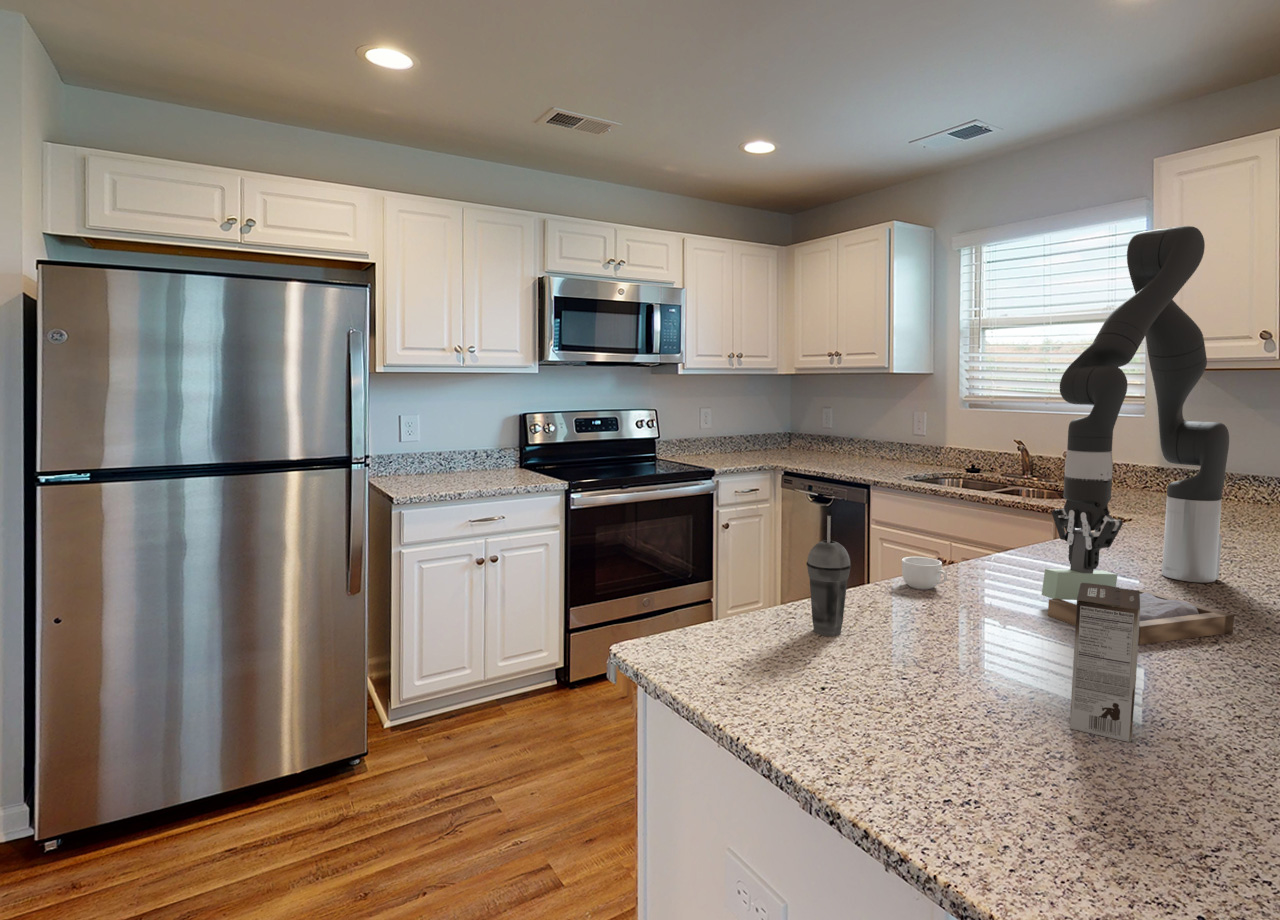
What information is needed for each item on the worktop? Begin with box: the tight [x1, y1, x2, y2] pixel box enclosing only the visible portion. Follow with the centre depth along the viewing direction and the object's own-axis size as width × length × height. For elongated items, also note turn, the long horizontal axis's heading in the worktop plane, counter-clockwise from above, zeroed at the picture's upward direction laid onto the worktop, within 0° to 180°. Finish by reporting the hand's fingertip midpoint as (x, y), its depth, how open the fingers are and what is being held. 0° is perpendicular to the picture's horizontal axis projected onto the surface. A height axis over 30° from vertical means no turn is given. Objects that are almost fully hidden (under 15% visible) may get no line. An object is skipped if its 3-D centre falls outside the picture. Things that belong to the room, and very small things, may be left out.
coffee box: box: [1069, 583, 1140, 743], centre depth 89 cm, size 9×6×16 cm
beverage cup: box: [806, 515, 852, 637], centre depth 122 cm, size 7×7×20 cm
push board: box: [1041, 533, 1118, 601], centre depth 136 cm, size 14×3×12 cm, turn 106°
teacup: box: [901, 556, 948, 590], centre depth 149 cm, size 10×8×5 cm
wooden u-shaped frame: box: [1047, 588, 1235, 646], centre depth 125 cm, size 22×16×3 cm
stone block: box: [1140, 593, 1199, 621], centre depth 128 cm, size 12×5×10 cm
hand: (1083, 566), depth 136 cm, fingers closed on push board, 2 cm apart
